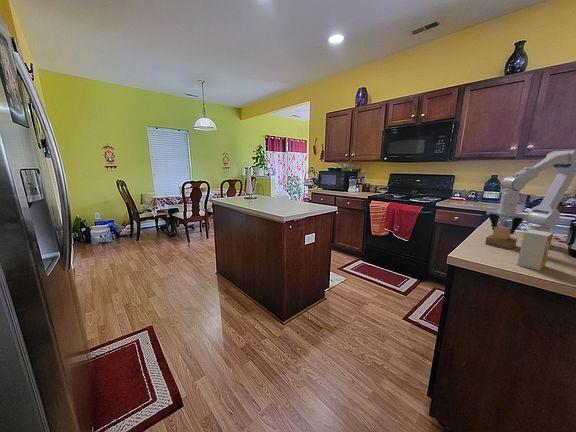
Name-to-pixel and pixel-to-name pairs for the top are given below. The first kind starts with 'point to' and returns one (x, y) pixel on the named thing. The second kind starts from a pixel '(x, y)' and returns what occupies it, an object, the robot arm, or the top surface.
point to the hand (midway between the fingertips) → (502, 231)
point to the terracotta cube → (502, 232)
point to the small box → (534, 249)
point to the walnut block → (501, 242)
